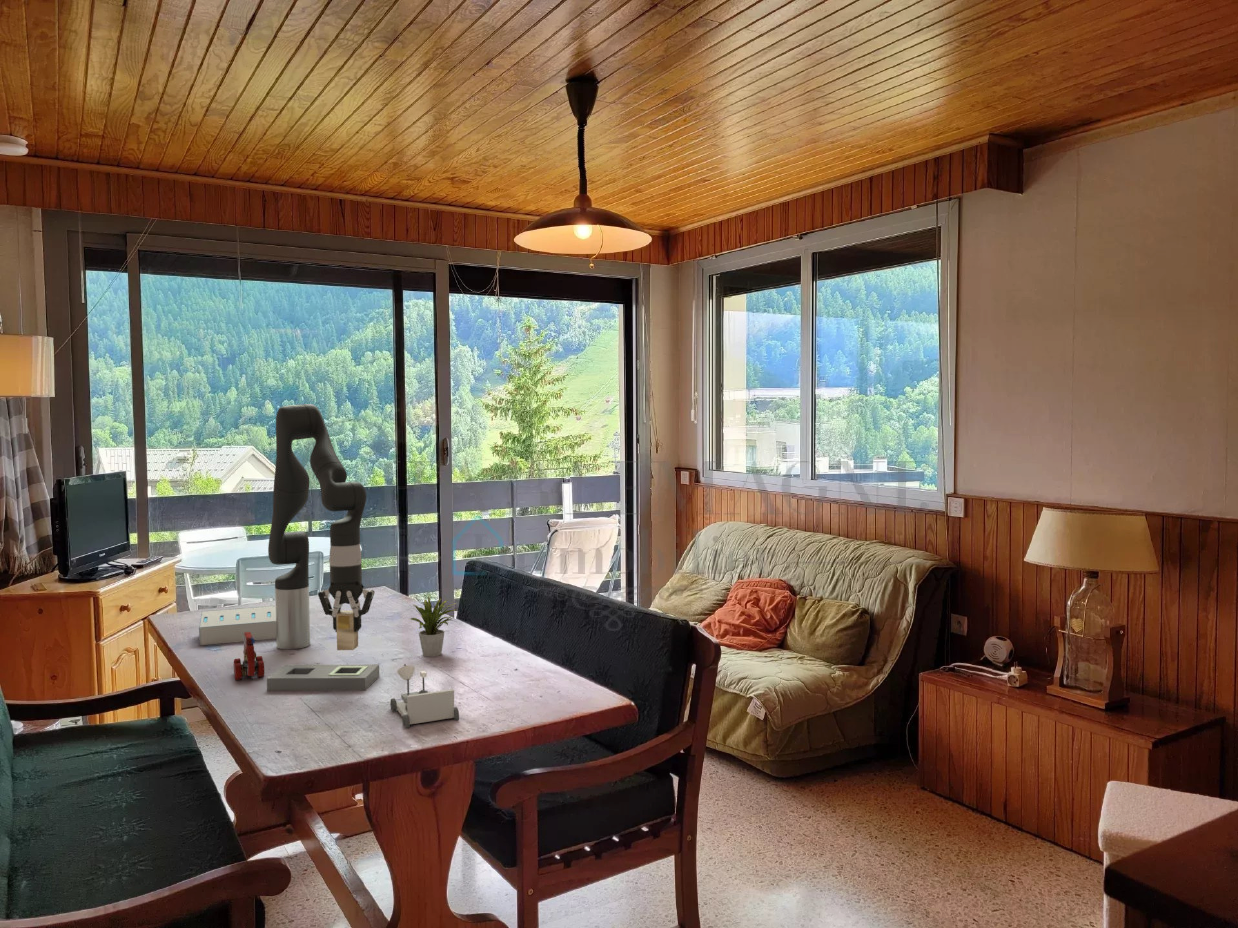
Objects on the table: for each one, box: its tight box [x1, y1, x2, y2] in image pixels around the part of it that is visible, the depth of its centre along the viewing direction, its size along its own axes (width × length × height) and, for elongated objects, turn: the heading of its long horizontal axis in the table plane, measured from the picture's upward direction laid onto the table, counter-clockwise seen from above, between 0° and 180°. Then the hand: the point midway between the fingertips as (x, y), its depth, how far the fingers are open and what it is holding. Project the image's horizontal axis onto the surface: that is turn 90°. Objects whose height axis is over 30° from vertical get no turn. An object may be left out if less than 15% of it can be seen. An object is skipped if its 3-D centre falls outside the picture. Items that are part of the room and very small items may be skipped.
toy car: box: [389, 663, 460, 729], centre depth 201 cm, size 18×10×12 cm
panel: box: [266, 664, 380, 691], centre depth 224 cm, size 12×24×3 cm, turn 89°
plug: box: [336, 610, 359, 651], centre depth 223 cm, size 5×4×9 cm
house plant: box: [408, 595, 459, 658], centre depth 249 cm, size 14×14×16 cm
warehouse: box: [198, 605, 276, 646], centre depth 275 cm, size 30×14×8 cm, turn 112°
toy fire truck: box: [233, 632, 265, 681], centre depth 231 cm, size 7×12×10 cm, turn 26°
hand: (347, 630), depth 223 cm, fingers closed on plug, 4 cm apart
